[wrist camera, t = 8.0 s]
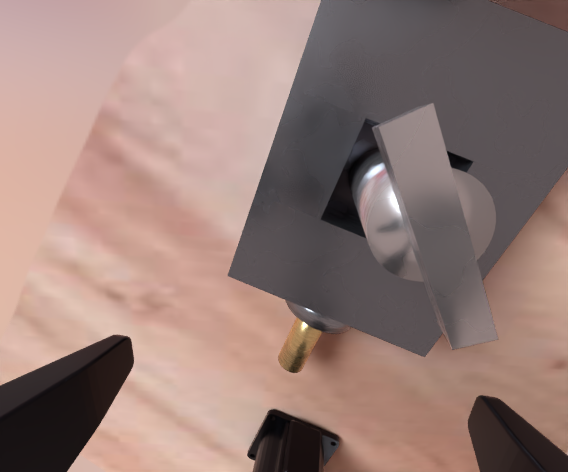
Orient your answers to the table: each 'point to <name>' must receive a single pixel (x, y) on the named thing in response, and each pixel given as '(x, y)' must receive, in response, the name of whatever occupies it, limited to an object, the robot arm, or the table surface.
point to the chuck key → (428, 221)
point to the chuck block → (360, 139)
